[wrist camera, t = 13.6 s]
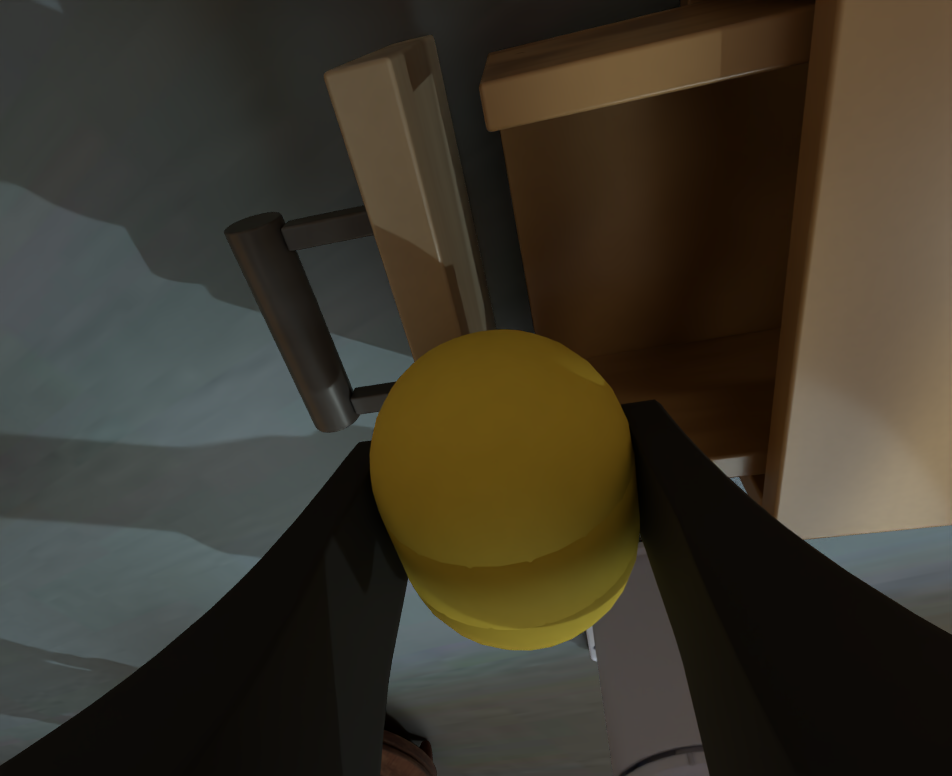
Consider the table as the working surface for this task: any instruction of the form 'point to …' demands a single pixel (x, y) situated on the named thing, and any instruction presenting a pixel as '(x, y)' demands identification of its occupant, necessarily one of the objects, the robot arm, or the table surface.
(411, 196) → the drawer
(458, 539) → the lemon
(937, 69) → the cabinet
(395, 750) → the wooden rope wheel ornament
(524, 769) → the table surface
